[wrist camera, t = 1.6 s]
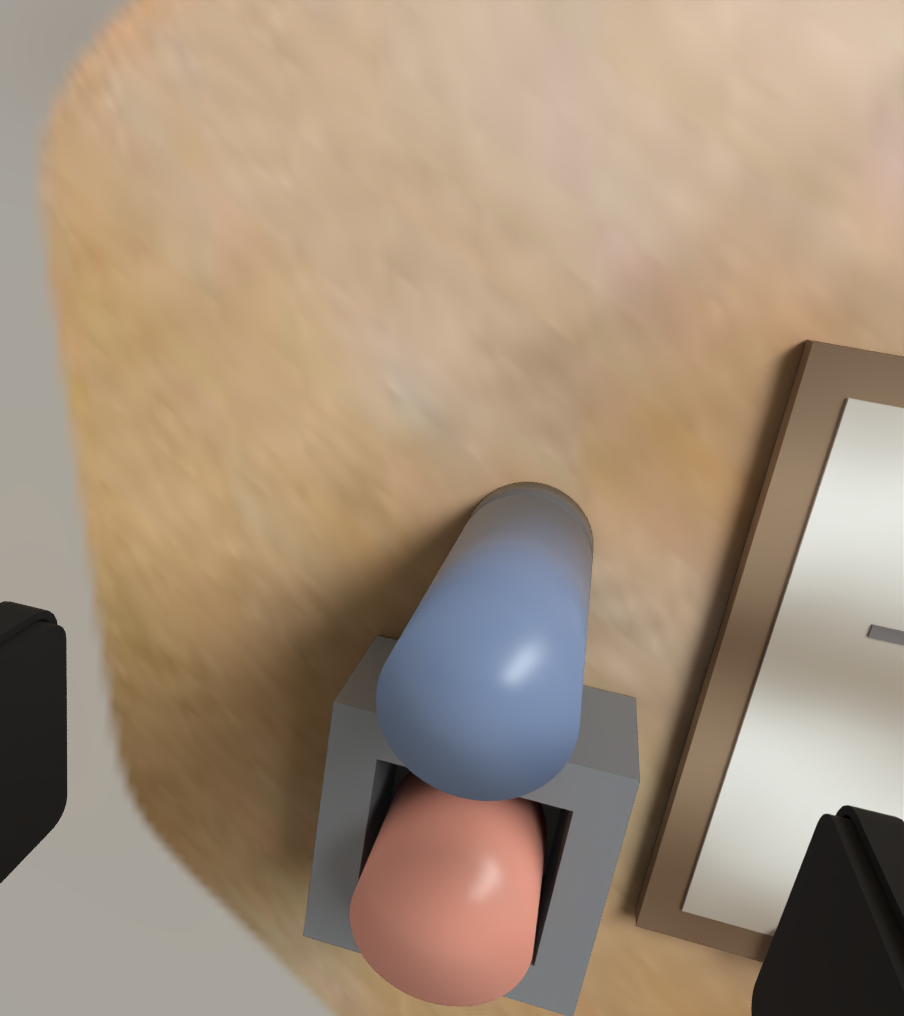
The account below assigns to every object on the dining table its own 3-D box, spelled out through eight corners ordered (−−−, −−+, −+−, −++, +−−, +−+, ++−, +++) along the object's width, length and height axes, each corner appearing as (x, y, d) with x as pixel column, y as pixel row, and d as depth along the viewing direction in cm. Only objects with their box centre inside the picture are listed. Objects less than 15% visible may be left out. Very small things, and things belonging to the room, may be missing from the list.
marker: (578, 615, 20) (556, 823, 12) (456, 587, 20) (364, 771, 13) (606, 496, 19) (600, 645, 11) (477, 469, 19) (390, 595, 12)
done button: (530, 905, 20) (514, 1028, 17) (382, 863, 21) (339, 974, 18) (561, 778, 19) (550, 883, 16) (403, 736, 20) (361, 831, 16)
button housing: (578, 908, 22) (572, 1017, 19) (346, 842, 23) (302, 935, 20) (635, 698, 20) (640, 780, 17) (376, 634, 21) (333, 701, 18)
